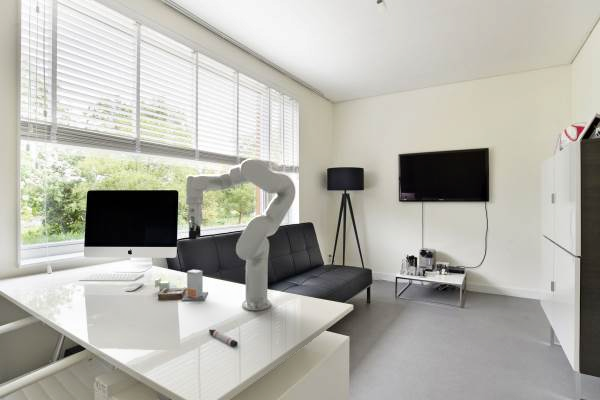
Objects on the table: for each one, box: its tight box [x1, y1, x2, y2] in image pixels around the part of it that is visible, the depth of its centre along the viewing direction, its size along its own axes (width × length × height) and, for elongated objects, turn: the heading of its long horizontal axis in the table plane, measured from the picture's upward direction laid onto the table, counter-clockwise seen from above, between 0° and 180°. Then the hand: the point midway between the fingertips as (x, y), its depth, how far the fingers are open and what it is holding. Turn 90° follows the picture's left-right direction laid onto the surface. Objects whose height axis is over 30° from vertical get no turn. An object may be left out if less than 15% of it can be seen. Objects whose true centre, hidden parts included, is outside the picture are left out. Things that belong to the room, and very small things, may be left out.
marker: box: [208, 329, 238, 348], centre depth 106 cm, size 15×2×2 cm, turn 49°
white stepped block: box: [154, 277, 170, 291], centre depth 155 cm, size 6×5×6 cm
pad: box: [181, 291, 209, 302], centre depth 147 cm, size 10×10×1 cm
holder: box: [157, 286, 187, 301], centre depth 152 cm, size 16×14×2 cm
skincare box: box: [186, 269, 204, 298], centre depth 147 cm, size 6×4×12 cm
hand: (194, 237), depth 146 cm, fingers open, 9 cm apart
